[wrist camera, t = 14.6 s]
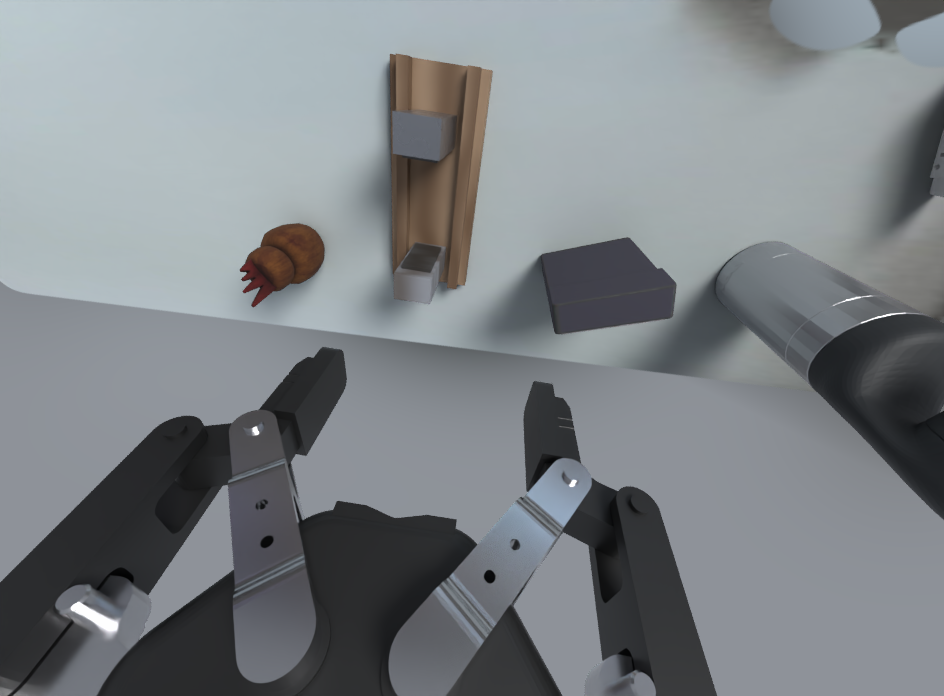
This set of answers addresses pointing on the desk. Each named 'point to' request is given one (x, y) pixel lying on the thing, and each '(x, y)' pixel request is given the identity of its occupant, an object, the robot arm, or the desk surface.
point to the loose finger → (423, 134)
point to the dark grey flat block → (605, 287)
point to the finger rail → (436, 177)
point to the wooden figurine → (283, 259)
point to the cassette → (938, 171)
